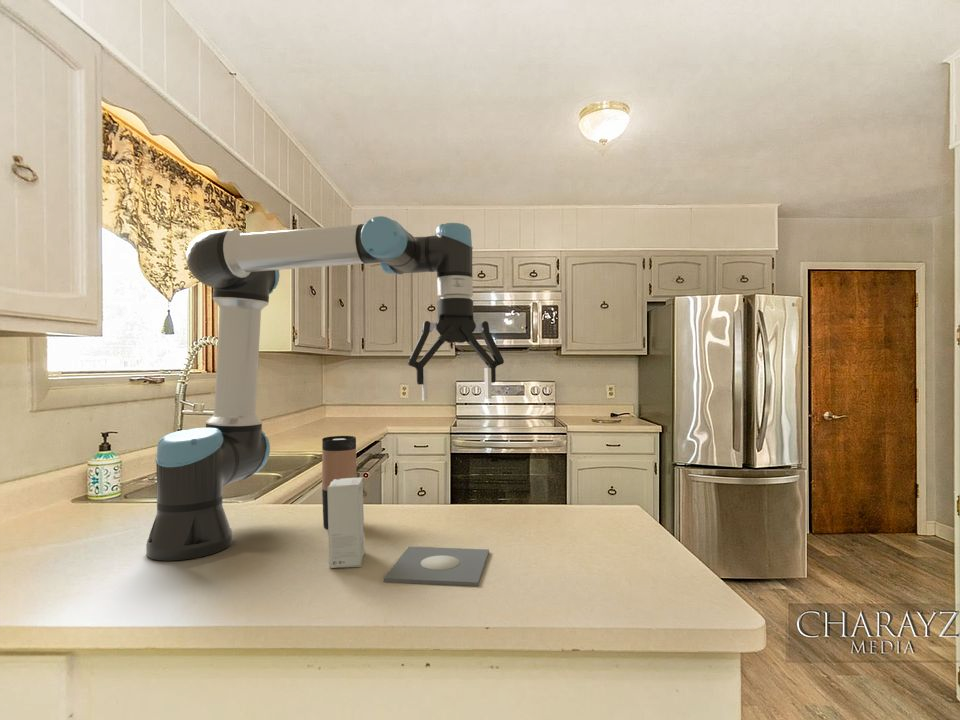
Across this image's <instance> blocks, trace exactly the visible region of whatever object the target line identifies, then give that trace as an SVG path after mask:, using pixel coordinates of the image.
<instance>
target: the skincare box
mask: <svg viewBox="0 0 960 720" xmlns="http://www.w3.org/2000/svg"><path fill="white" fill-rule="evenodd" d="M363 480H364V479H363V477H362V476H360V477H357V478H343V479H334V480H333V481H332V482H330V485H329V486H328V487H327V495H328V529H327V530H328V531H327V532H328V533H327V534H328V536H327V537H328V567H329V568H330V569H337V568H361V567H362V561H363V558H364V555H365V552H366V551H365V550H366V549H365V548H366V547H365V546H366V543H365V518H364V491H363V489H364V485H363V482H364V481H363Z"/></svg>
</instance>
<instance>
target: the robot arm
mask: <svg viewBox="0 0 960 720" xmlns="http://www.w3.org/2000/svg"><path fill="white" fill-rule="evenodd" d="M435 230H436V231H435V233H434V235H430V236H429V235H428V236H413V234H411V233H410V232H409V231H408V230H406V229H405V228H404V227H403V226H402V225H401V224H400V223H399V222H397V221H396V220H394V219H392V218H390V217H387V216H382V215H381V216H379V215H378V216H374V217H372V218H370V219H369V220H367V221H366V222H365V223H360V224H348V225H337V226H336V225H334V226H323V227H322V226H321V227H311V228H298V229H287V230H285V229H284V230H275V231H274V230H273V231H262V232H261V231H260V232H259V231H258V232H249V233H247V232H246V233H245V232H243V231H242V230H240V229H239V228H238V229H237V228H231V229H219V230H218V229H217V230H210V231H209V230H208V231H205V232H203V233H201V234H198V235H197V236H196V237H195V238H194V239H192V241H191V242H190V243H189V245H188V246H187V247H188V248H187V250H186V263H187V266H188V269H189V271H190V273H191V275H192V276H193V277H194V279H196V281H199V282H200V283H201V284H204V285H205V286H207V287H209V288H213V290H212V291H213V292H212V300H213V301H214V303H216V305H217V306H218V308H219V317H218V333H217V355H216V370H215V371H216V372H215V388H214V389H215V391H214V408H213V409H214V410H213V414H212V415H211V416H210V417H209V418H208V419H207V420H206V421H205V427H194V428H190V429H182V430H177V431H173V432H170V433H168V434H165V435H164V436H162V437H161V438H160V439H159V441H158V443H157V449H156V450H157V451H156V455H155V463H156V514H155V515H156V516H155V517H154V521H153V523H152V526H151V529H150V532H149V537H148V539H147V541H146V551H145V553H146V556H147V558H148V559H151V560H157V561H163V562H164V561H166V562H167V561H185V560H191V559H197V558H201V557H205V556H209V555H213V554H215V553H216V554H217V553H218V552H221V551H223V550H225V549H227V548H229V547H230V546H231V545H232V543H233V532H232V528H231V527H230V523H229V520H228V517H227V514H226V512H225V509H224V505H223V486H226V485H229V484H231V483H232V484H233V483H235V482H237V481H243V480H246V479H249V477H252V476H253V475H255V474H257V473H258V472H260V471H261V470H262V469H263V468H264V466H265V465H266V464H267V462H268V460H269V457H270V453H271V444H270V439H269V438H268V436H266V433H265V431H263V421H262V420H261V418H259V417H258V416H257V414H256V412H257V411H256V409H257V394H258V393H257V391H258V372H259V371H258V370H259V353H260V338H261V337H260V336H261V335H260V334H261V333H260V332H261V321H262V320H261V318H262V317H261V315H262V310H263V309H265V307H267V306H268V305H269V300H270V295H271V294H272V293H273V291H274V290H275V289H277V286H278V285H279V281H280V270H294V269H308V268H309V269H310V268H322V267H334V266H335V267H336V266H348V265H360V264H361V265H362V264H379V265H380V267H381V269H382V271H383V272H384V273H386V274H388V275H389V274H390V275H391V274H392V275H393V274H394V275H396V274H397V275H403V274H415V273H416V274H417V273H418V274H419V273H435V272H436V274H437V275H436V282H437V283H436V284H437V288H436V291H437V294H436V296H437V297H438V298H439V299H438V301H437V321H436V322H430V321H428V320H426V321H424V322H423V323H422V326H421V327H422V328H421V329H422V330H421V334H420V336H419V338H418V339H417V342H416V344H415V346H414V348H413V350H412V352H411V354H410V357H409V359H408V361H407V366H409V367H412V368H415V370H416V383H417V385H421V399H422V401H423V402H428V401H429V399H428V398H429V396H428V395H429V394H428V392H429V391H428V390H429V388H428V368H426V369H425V368H424V367H425V366H426V365H427V364H428V363H429V361H430V360H431V358H433V356H434V355H435V354H436V352H437V351H438V350H439V349H440V348H441V346H442V345H444V343H445V342H446V343H448V344H452V343H458V344H463V343H465V342H466V343H467V344H468V345H469V346H470V347H471V348H472V349H473V351H474V352H475V353H476V354H477V356H479V357H480V358H481V360H482V361H483V362H484V363H485V365H486V366H487V367H484V371H483V372H484V374H483V375H484V399H488V400H492V398H493V397H492V383H496V380H497V379H496V377H497V376H496V375H497V374H496V372H497V371H496V369H497V367H498V366H500V365H503V364H504V363H505V360H504V358H503V356H502V354H501V352H500V350H499V347H498V346H497V343H496V342H495V340H494V338H493V336H492V333H491V331H490V326H489V322H488V321H487V320H485V321H482V322H475V320H474V301H473V299H471V298H472V297H473V296H474V289H473V287H474V286H473V283H474V282H473V248H474V247H473V244H472V243H473V242H472V231H471V230H472V229H471V228H470V227H469V226H468V225H467V224H464V223H460V222H447V223H442V224H439V225H438V226H436V229H435ZM434 329H435V330H436V331H437V332H438V334H439V336H438V337H437V339H436V340H435V341H434V343H433V344H432V345H431V346H430V347H429V348H428V350H426V352H425V354H424V355H423V356H422V357H421V358H420V360H419V361H417V360H418V358H419V357H420V353H421V351H422V350H423V347H424V345H425V343H426V342H427V339H428V337H429V334H430V333H432V332H433V331H434ZM476 329H477V331H478V333H481V336H482V338H483V340H484V342H485V345H486V346H487V348H488V350H489V353H490V355H491V356H492V357H491V356H490V355H489V353H488V352H487V351H486V349H484V347H483V346H482V345H481V344H480V343H479V342H478V341H477V338H476V337H475V336H474V335H473V333H474V331H475V330H476Z"/></svg>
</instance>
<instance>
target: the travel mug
mask: <svg viewBox="0 0 960 720" xmlns="http://www.w3.org/2000/svg"><path fill="white" fill-rule="evenodd" d="M321 441H322V445H321V446H322V449H321V451H322V452H321V453H322V455H321V456H322V457H321V460H322V461H321V462H322V463H321V466H322V467H321V493H322V494H321V496H322V517H323V518H322V521H323V523H322V524H323V528H324V529H325V530H328V495H327V487H328V486H329V485H330V482H332V481H333V480H334V479H343V478H358V477H357V475H358V474H357V437H356V436H353V435H332V436H331V435H330V436H327V437H322V439H321Z"/></svg>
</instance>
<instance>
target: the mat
mask: <svg viewBox="0 0 960 720" xmlns="http://www.w3.org/2000/svg"><path fill="white" fill-rule="evenodd" d="M489 554H490V549H487V548H486V549H483V548H457V547H432V546H408V547H406V549H405V551H404V552H403V553H402V554H401V555H400V557H399V558H398V560H397V561H395V562H394V564H393V566H392V567H391V569H389V570H388V572H387V573H386V574H385V576H383V583H402V584H403V583H404V584H425V585H443V586H444V585H445V586H448V585H449V586H462V587H463V586H467V587H469V586H470V587H479V583H480V580H481V579H482V575H483V572H484V569H485V566H486V563H487V560H488V558H489Z"/></svg>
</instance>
